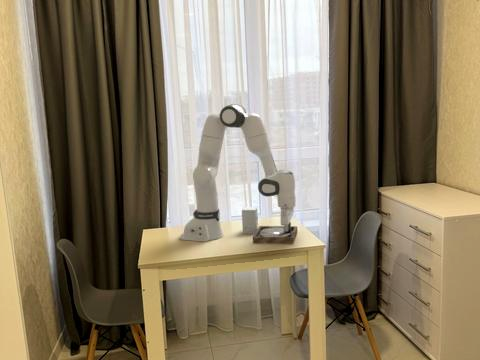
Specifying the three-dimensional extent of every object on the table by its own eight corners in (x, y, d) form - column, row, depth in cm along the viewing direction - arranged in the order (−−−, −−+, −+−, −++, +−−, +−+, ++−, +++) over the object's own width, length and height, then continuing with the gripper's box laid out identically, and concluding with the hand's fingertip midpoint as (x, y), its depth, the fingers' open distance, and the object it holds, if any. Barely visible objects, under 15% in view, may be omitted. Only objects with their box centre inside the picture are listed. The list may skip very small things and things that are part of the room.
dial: (255, 239, 244) (255, 225, 243) (265, 230, 259) (264, 217, 258) (287, 240, 239) (286, 227, 238) (294, 231, 254) (294, 218, 252)
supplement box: (256, 233, 258) (255, 210, 255) (242, 233, 259) (241, 210, 257) (258, 229, 265) (257, 206, 263) (245, 229, 266) (243, 206, 264)
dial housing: (252, 243, 242) (252, 236, 241) (259, 231, 261) (259, 225, 260) (293, 243, 238) (293, 237, 237) (297, 231, 257) (297, 225, 256)
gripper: (290, 207, 233) (290, 235, 236) (295, 198, 253) (295, 224, 255) (277, 207, 235) (277, 235, 237) (283, 198, 254) (283, 223, 257)
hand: (287, 229), depth 247 cm, fingers open, 4 cm apart
